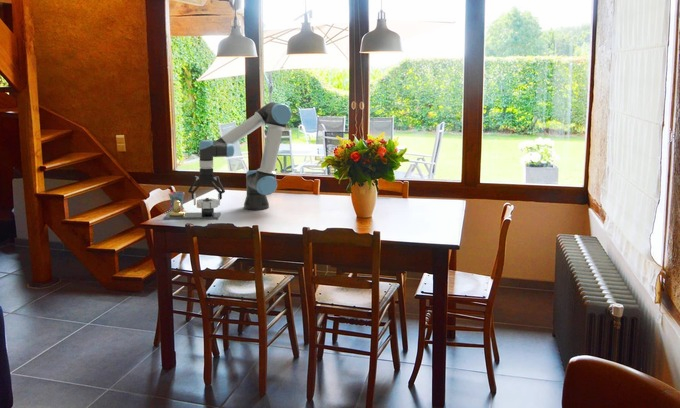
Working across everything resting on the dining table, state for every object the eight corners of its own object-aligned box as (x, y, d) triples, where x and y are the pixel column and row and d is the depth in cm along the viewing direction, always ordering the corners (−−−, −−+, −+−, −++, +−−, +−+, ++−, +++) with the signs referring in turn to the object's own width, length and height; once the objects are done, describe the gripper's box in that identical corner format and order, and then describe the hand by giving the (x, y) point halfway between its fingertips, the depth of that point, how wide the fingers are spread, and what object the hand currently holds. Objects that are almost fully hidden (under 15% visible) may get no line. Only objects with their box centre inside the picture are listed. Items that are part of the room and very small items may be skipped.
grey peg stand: (220, 214, 391) (220, 196, 389) (218, 219, 378) (217, 200, 376) (168, 214, 389) (167, 196, 387) (163, 219, 376) (163, 200, 374)
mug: (178, 212, 395) (177, 194, 393) (165, 211, 399) (164, 193, 397) (191, 209, 406) (190, 191, 403) (178, 207, 410) (178, 190, 407)
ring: (218, 204, 389) (218, 198, 388) (216, 208, 377) (216, 202, 377) (198, 204, 388) (198, 198, 387) (195, 208, 377) (195, 202, 376)
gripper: (229, 167, 383) (229, 204, 387) (185, 166, 381) (185, 203, 385) (228, 169, 376) (228, 206, 380) (182, 168, 374) (183, 206, 378)
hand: (206, 205), depth 382 cm, fingers open, 13 cm apart
